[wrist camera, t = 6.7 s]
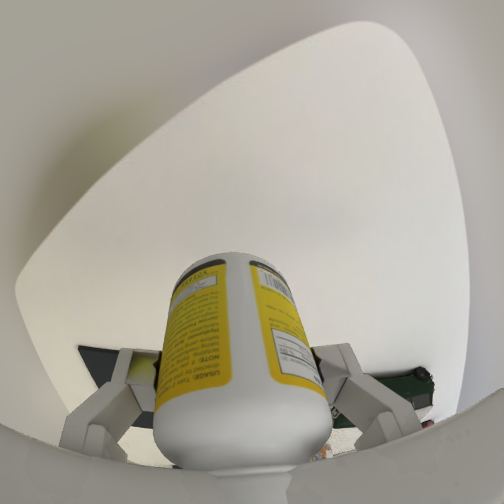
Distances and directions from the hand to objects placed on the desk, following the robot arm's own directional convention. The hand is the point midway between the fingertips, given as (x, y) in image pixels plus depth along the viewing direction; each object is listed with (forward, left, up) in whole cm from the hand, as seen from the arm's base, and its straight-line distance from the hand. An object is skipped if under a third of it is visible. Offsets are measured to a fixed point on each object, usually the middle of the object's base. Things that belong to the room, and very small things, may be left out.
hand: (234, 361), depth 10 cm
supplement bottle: (0, 0, -4) cm, 4 cm away
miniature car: (+24, -27, -14) cm, 39 cm away
